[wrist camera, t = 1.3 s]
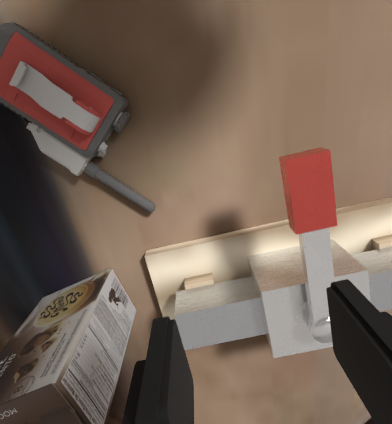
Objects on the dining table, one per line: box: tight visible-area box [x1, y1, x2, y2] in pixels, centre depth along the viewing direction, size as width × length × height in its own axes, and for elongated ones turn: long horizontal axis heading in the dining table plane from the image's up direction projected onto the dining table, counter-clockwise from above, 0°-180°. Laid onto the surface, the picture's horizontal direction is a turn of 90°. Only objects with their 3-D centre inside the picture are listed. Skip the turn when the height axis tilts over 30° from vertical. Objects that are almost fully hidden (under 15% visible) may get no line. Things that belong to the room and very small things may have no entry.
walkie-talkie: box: [0, 23, 155, 212], centre depth 29 cm, size 9×4×20 cm
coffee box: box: [0, 269, 136, 424], centre depth 29 cm, size 9×6×16 cm
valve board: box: [144, 197, 392, 344], centre depth 34 cm, size 12×30×3 cm, turn 103°
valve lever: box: [279, 148, 337, 343], centre depth 24 cm, size 16×3×2 cm, turn 13°
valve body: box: [174, 238, 392, 358], centre depth 31 cm, size 7×25×7 cm, turn 103°
